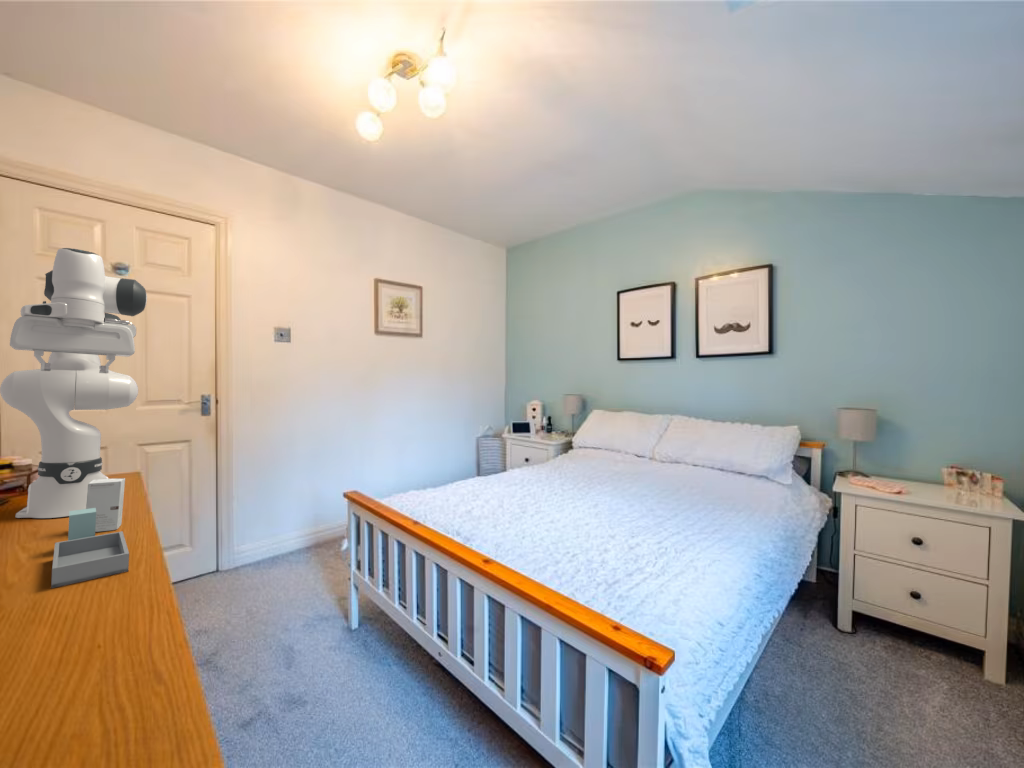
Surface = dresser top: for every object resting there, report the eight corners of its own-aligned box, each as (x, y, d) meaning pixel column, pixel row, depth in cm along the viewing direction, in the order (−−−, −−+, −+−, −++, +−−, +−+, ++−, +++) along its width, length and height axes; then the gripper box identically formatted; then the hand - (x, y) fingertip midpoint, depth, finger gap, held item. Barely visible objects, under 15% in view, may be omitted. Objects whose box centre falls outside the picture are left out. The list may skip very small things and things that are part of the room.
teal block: (67, 547, 89) (69, 511, 89) (93, 542, 92) (95, 507, 92) (67, 553, 86) (69, 515, 86) (94, 548, 89) (96, 511, 89)
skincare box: (83, 534, 96) (85, 483, 97) (89, 528, 100) (91, 479, 100) (118, 529, 100) (120, 480, 100) (123, 524, 104) (125, 477, 104)
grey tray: (54, 559, 83) (55, 542, 83) (121, 546, 90) (122, 531, 90) (51, 588, 72) (52, 568, 72) (128, 571, 79) (129, 553, 79)
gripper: (134, 323, 107) (132, 375, 106) (11, 310, 91) (8, 370, 90) (138, 319, 103) (137, 373, 102) (11, 304, 87) (8, 368, 86)
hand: (75, 372), depth 96 cm, fingers open, 8 cm apart
